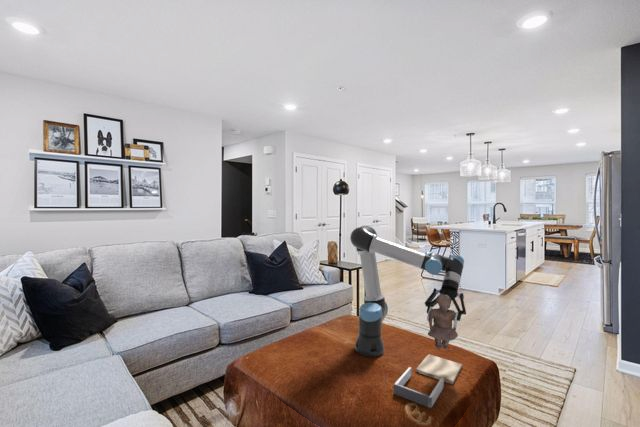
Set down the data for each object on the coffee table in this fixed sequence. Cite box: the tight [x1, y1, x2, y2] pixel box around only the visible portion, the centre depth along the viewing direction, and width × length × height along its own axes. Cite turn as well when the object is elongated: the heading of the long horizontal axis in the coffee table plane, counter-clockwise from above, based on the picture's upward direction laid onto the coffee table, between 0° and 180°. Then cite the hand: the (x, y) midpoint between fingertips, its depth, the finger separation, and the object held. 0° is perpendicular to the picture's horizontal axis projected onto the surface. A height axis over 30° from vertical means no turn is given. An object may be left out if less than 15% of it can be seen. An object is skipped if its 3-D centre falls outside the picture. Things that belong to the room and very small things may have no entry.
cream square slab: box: [415, 353, 463, 385], centre depth 149 cm, size 16×18×2 cm
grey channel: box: [393, 366, 445, 409], centre depth 132 cm, size 15×17×4 cm
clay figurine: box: [427, 293, 459, 350], centre depth 148 cm, size 13×10×25 cm
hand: (441, 323), depth 146 cm, fingers closed on clay figurine, 11 cm apart
